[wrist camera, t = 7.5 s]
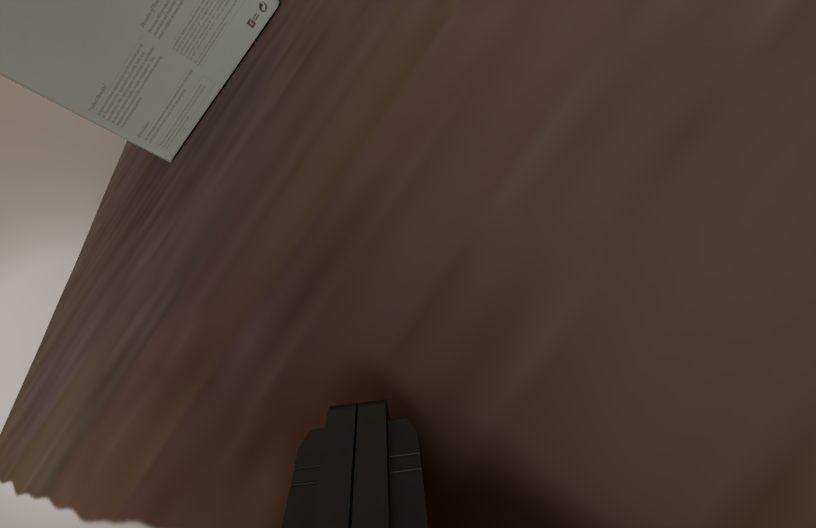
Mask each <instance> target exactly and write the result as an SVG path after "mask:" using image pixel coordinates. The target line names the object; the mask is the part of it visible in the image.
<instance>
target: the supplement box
mask: <svg viewBox="0 0 816 528" xmlns="http://www.w3.org/2000/svg"><path fill="white" fill-rule="evenodd" d="M278 5H279V1H278V0H0V75H1V76H3V77H5V78H7V79H9V80H11V81H13V82H15V83H17V84H19V85H21V86H23V87H25V88H26V89H28V90H30V91H33V92H34V93H36V94H38V95H40V96H42V97H44V98H46V99H48V100H50V101H52V102H54V103H56V104H58V105H60V106H62V107H64V108H65V109H67V110H69V111H72V112H73V113H75V114H77V115H79V116H81V117H83V118H85V119H87V120H89V121H91V122H93V123H95V124H97V125H99V126H101V127H103V128H105V129H106V130H109V131H110V132H112V133H114V134H116V135H118V136H120V137H122V138H124V139H126V140H128V141H130V142H132V143H134V144H136V145H138V146H140V147H142V148H144V149H145V150H147V151H149V152H151V153H153V154H155V155H157V156H159V157H160V158H162V159H164V160H166V161H168V162H169V163H171V162H172V161H173V159H174V157H175V155H176V153H177V152H178V151H179V149H180V148H181V146H182V145H183V143H184V142H185V140H186V139H187V137H188V136H189V134H190V133H191V131H192V130H193V129H194V127H195V126H196V124H197V123H198V121H199V120H200V118H201V117H202V116H203V114H204V113H205V111H206V110H207V108H208V107H209V106H210V104H211V103H212V101H213V100H214V98H215V97H216V95H217V94H218V93H219V91H220V90H221V88H222V87H223V85H224V84H225V82H226V81H227V80H228V78H229V77H230V75H231V74H232V72H233V71H234V69H235V68H236V67H237V65H238V64H239V62H240V61H241V59H242V58H243V56H244V55H245V54H246V52H247V51H248V49H249V48H250V46H251V45H252V43H253V42H254V41H255V39H256V38H257V36H258V35H259V33H260V32H261V30H262V29H263V28H264V26H265V25H266V23H267V22H268V20H269V19H270V17H271V16H272V15H273V13H274V12H275V10H276V9H277V7H278Z"/></svg>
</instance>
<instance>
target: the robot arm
mask: <svg viewBox="0 0 816 528" xmlns="http://www.w3.org/2000/svg"><path fill="white" fill-rule="evenodd" d="M282 528H429V526H428V518H427V509H426V500H425V491H424V483H423V474H422V466H421V458H420V450H419V441H418V433H417V431H416V430H415V428H414V427H413V425H412V424H411V422H410V421H409V419H408V418H404V419H396V420H390V418H389V412H388V406H387V401H386V400H380V401H372V402H364V403H359V405H358V403H355V404H347V405H339V406H331V407H329V410H328V416H327V423H326V428H324V429H317V430H310V432H309V433H308V435H307V436H306V438H305V439H304V441H303V442H302V444H301V445H300V447H299V449H298V454H297V459H296V464H295V471H294V473H293V478H292V483H291V488H290V492H289V497H288V502H287V506H286V511H285V516H284V521H283V525H282Z"/></svg>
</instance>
